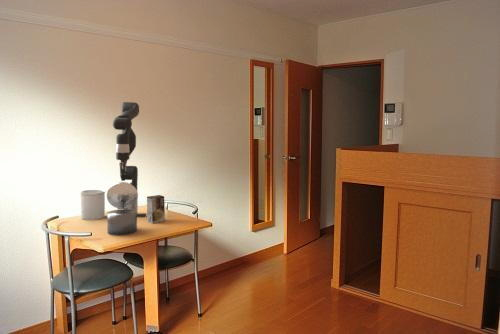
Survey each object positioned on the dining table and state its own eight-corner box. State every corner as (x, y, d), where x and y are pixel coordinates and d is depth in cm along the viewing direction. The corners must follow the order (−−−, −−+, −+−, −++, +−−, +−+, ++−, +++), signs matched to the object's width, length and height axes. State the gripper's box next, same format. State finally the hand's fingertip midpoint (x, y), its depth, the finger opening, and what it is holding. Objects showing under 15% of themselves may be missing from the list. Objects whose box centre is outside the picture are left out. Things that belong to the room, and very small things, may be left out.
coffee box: (159, 219, 252) (159, 194, 250) (165, 221, 248) (164, 196, 246) (146, 221, 246) (146, 196, 244) (152, 223, 241) (151, 197, 239)
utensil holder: (108, 218, 252) (107, 191, 250) (83, 221, 244) (82, 193, 242) (102, 213, 264) (101, 188, 262) (78, 216, 256) (78, 190, 254)
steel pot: (108, 228, 228) (108, 209, 227) (146, 226, 234) (145, 208, 232) (106, 236, 213) (105, 216, 212) (146, 234, 218) (146, 214, 217)
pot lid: (107, 210, 227) (107, 207, 229) (138, 209, 231) (138, 206, 234) (106, 183, 219) (106, 181, 222) (137, 182, 224) (137, 180, 226)
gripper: (116, 150, 238) (117, 179, 240) (115, 152, 225) (115, 182, 227) (129, 150, 240) (130, 179, 241) (129, 152, 227) (129, 182, 229)
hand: (123, 180), depth 234 cm, fingers closed
